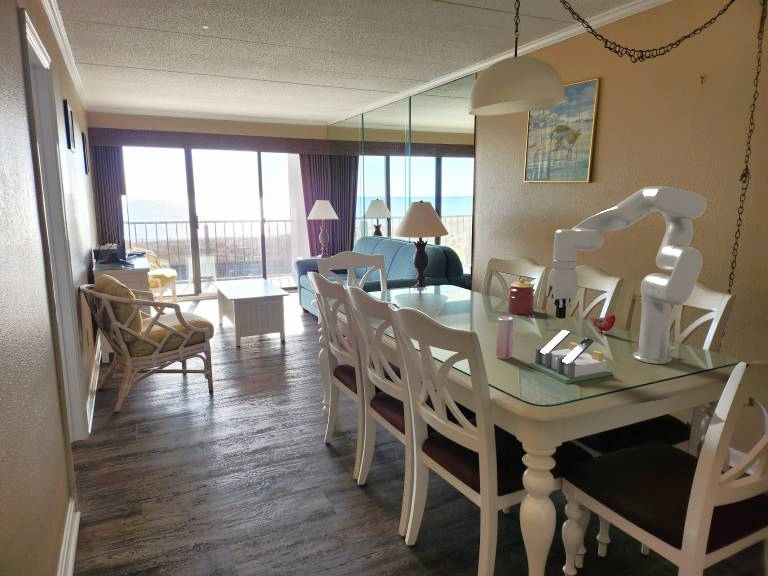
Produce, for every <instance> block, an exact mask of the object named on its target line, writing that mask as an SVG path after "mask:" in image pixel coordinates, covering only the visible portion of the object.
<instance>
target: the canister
mask: <svg viewBox="0 0 768 576" xmlns="http://www.w3.org/2000/svg"><path fill="white" fill-rule="evenodd" d="M533 287H534V284H532V283H531V282H529V281H526V280H525V279H524V278H523V277H521V278H520V279H519V281H518V280H517V281H513V282H512V283H511V284H510V288H508V291H509V293H508V295H507V296H508V301H507V302H508V305H507V310H508V313H509V314H514V315H521V316H522V315H523V316H525V315H532V314H533V313H534V312H535V298H536V296H535V295H534V294H535V291H536V289H535V288H533Z"/></svg>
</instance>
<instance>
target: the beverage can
mask: <svg viewBox="0 0 768 576" xmlns="http://www.w3.org/2000/svg"><path fill="white" fill-rule="evenodd" d="M495 332H496V336H495V337H496V338H495V356H496V358H497V357H498V358H497V359H499V358H502V359H501V360H510V359H511V358H512V357H513V339H514V318H513V317H511V316H498V317H497V319H496V331H495ZM509 358H510V359H509Z"/></svg>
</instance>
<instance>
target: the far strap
mask: <svg viewBox="0 0 768 576" xmlns="http://www.w3.org/2000/svg"><path fill="white" fill-rule="evenodd" d="M570 334H571V332H570V331H568V330H566V329H565V330H564V329H562V330H561V331H560V332H559V333H558V334H557V335H556V336H555V337H553V339H552V340H551V341H549V342H548V343H547V344H546V345H545V346H544V347H543V348H541V349H542V350H541V351H540V353H541V354H543V355H545V353H548V352H552V351H555V349H556V348H557V347H558V346H559V345H560V344H561V343H562V342H563V341H565V339H566V338H567V337H568V336H570Z"/></svg>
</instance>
